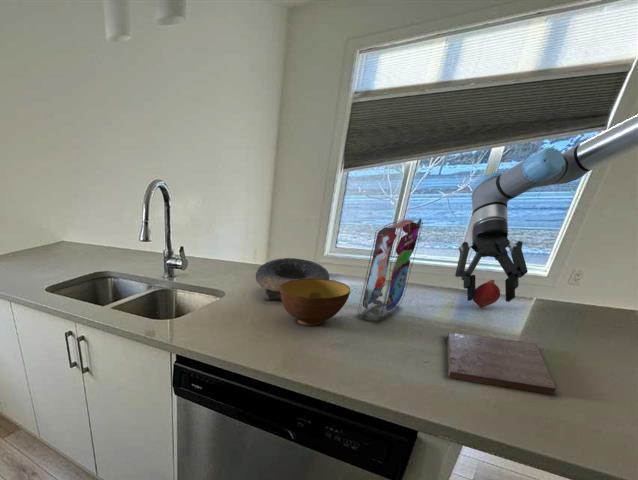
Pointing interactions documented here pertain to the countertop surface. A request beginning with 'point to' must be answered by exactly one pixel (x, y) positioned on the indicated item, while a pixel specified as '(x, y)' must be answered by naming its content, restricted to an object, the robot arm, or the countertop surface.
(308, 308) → the bowl
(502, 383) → the cutting board
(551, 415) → the countertop surface
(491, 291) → the onion
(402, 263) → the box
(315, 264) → the grinding stone
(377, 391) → the countertop surface
